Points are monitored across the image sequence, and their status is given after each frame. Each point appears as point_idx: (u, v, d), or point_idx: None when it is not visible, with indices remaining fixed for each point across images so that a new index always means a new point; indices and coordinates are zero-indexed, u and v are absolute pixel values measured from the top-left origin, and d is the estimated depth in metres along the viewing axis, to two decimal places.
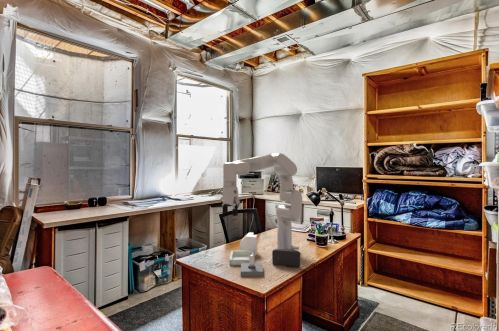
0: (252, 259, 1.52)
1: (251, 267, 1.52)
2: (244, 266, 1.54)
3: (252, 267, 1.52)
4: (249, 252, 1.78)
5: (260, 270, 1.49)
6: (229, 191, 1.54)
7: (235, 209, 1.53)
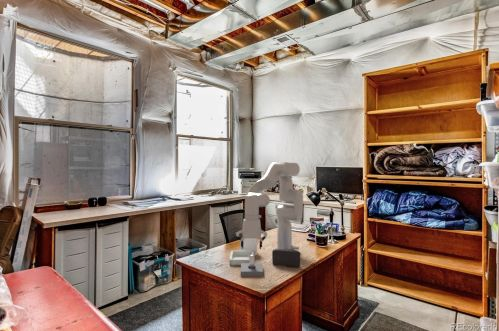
0: (252, 259, 1.52)
1: (251, 267, 1.52)
2: (244, 266, 1.54)
3: (252, 267, 1.52)
4: (249, 252, 1.78)
5: (260, 270, 1.49)
6: (257, 224, 1.51)
7: None
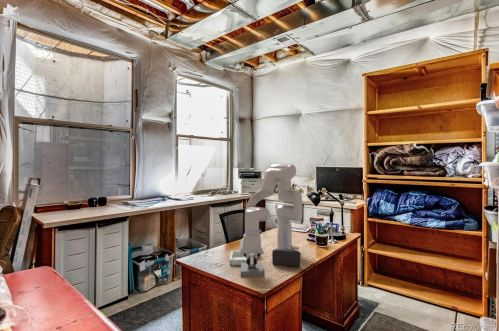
0: (252, 259, 1.52)
1: (251, 267, 1.52)
2: (244, 266, 1.54)
3: (252, 267, 1.52)
4: None
5: (260, 270, 1.49)
6: (257, 239, 1.51)
7: (256, 259, 1.53)
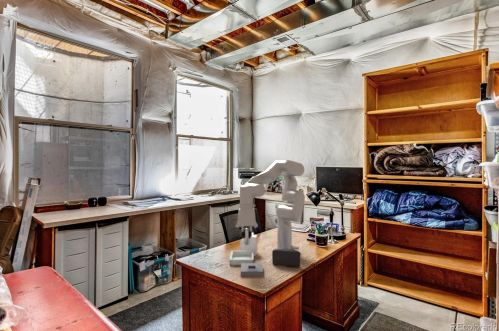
0: (247, 232, 1.61)
1: (246, 239, 1.61)
2: (244, 266, 1.54)
3: (247, 239, 1.61)
4: (249, 252, 1.78)
5: (260, 270, 1.49)
6: (252, 213, 1.60)
7: (251, 231, 1.62)
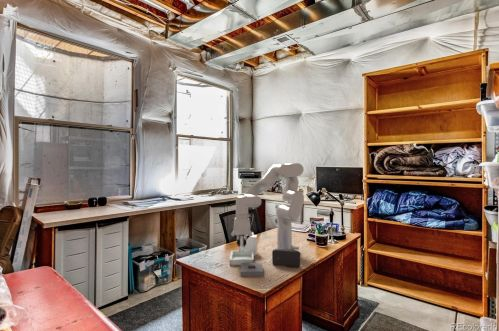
0: (242, 240, 1.69)
1: (241, 247, 1.69)
2: (244, 266, 1.54)
3: (242, 247, 1.69)
4: (249, 252, 1.78)
5: (260, 270, 1.49)
6: (246, 222, 1.68)
7: None
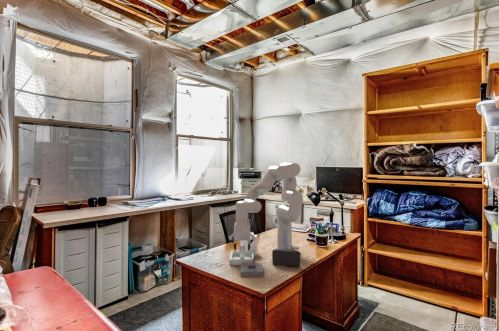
0: (242, 248, 1.69)
1: (241, 255, 1.69)
2: (244, 266, 1.54)
3: (242, 255, 1.69)
4: (249, 252, 1.78)
5: (260, 270, 1.49)
6: (247, 228, 1.68)
7: None
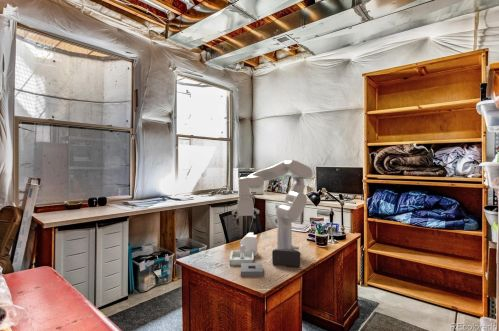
0: (242, 248, 1.69)
1: (241, 255, 1.69)
2: (244, 266, 1.54)
3: (242, 255, 1.69)
4: (249, 252, 1.78)
5: (260, 270, 1.49)
6: (250, 203, 1.70)
7: None
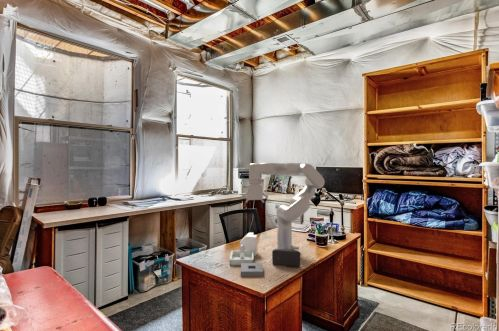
0: (242, 248, 1.69)
1: (241, 255, 1.69)
2: (244, 266, 1.54)
3: (242, 255, 1.69)
4: (249, 252, 1.78)
5: (260, 270, 1.49)
6: (259, 187, 1.78)
7: (263, 203, 1.80)
